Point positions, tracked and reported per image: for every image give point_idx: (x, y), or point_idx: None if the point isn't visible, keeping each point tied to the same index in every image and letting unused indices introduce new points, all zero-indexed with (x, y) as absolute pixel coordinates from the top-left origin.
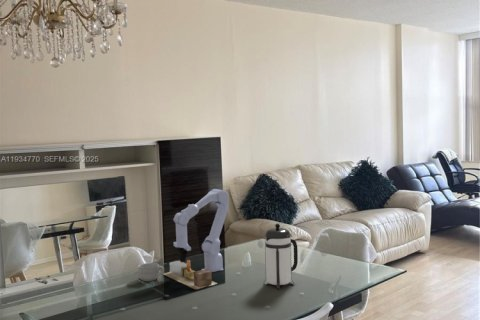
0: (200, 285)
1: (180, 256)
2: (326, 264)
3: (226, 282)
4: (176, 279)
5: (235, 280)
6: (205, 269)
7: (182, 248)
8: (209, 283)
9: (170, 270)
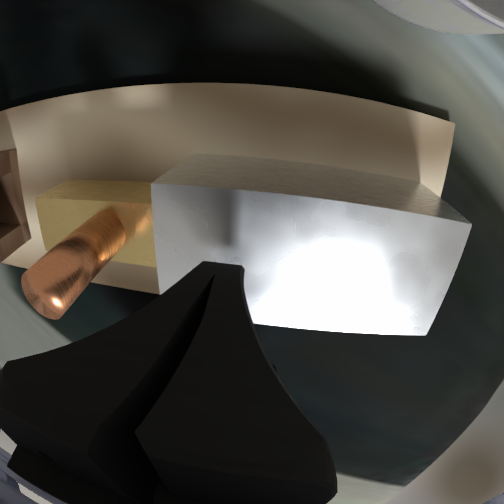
0: None
1: (158, 313)
2: None
3: (19, 303)
4: (193, 97)
5: (33, 339)
6: None
7: (39, 483)
8: None
9: (419, 188)
